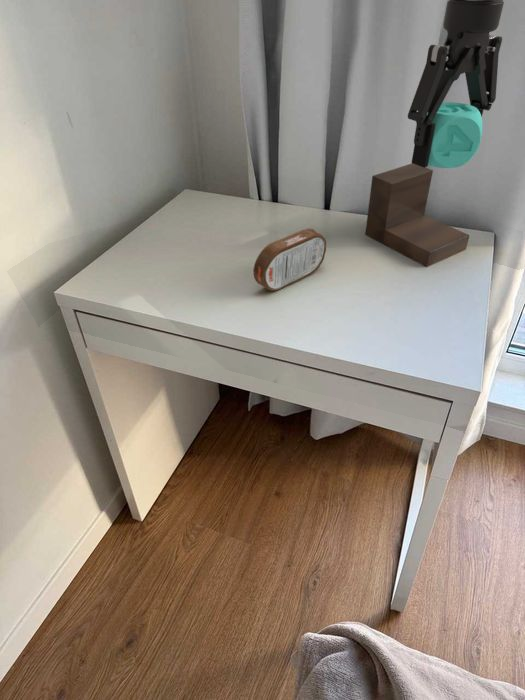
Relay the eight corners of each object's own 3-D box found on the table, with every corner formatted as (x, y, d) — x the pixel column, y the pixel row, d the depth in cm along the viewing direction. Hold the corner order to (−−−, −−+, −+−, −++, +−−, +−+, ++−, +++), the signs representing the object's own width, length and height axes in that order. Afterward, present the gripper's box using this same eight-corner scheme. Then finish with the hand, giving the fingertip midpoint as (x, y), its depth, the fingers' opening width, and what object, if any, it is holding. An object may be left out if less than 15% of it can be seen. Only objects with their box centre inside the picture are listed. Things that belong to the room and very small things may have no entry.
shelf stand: (465, 249, 95) (482, 188, 87) (426, 267, 90) (440, 204, 82) (403, 220, 105) (413, 162, 97) (365, 234, 100) (372, 175, 93)
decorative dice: (474, 167, 81) (488, 114, 75) (426, 169, 80) (436, 116, 75) (456, 150, 87) (467, 101, 82) (411, 152, 86) (419, 103, 81)
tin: (315, 262, 92) (318, 220, 87) (327, 269, 90) (331, 226, 85) (252, 292, 85) (251, 248, 80) (264, 300, 83) (263, 255, 78)
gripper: (503, -11, 76) (468, 137, 91) (397, 1, 67) (376, 166, 81) (549, -8, 72) (504, 148, 86) (442, 5, 62) (411, 180, 76)
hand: (442, 157), depth 83 cm, fingers closed on decorative dice, 11 cm apart
